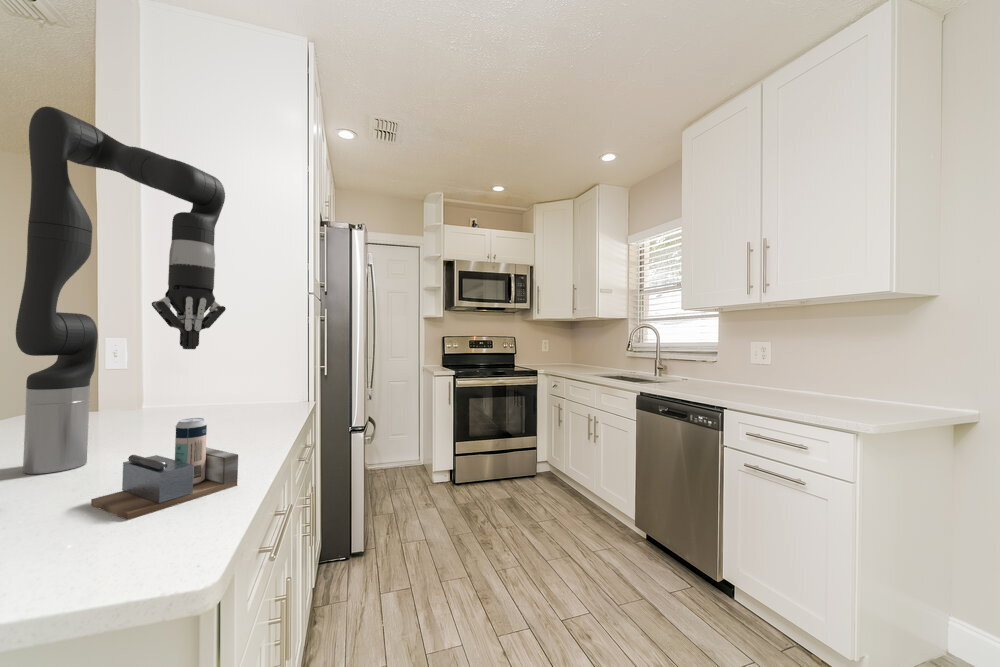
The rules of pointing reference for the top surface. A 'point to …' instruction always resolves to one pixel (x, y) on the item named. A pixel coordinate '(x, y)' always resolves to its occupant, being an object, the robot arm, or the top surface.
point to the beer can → (192, 445)
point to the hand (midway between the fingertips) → (189, 349)
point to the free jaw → (157, 478)
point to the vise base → (217, 477)
